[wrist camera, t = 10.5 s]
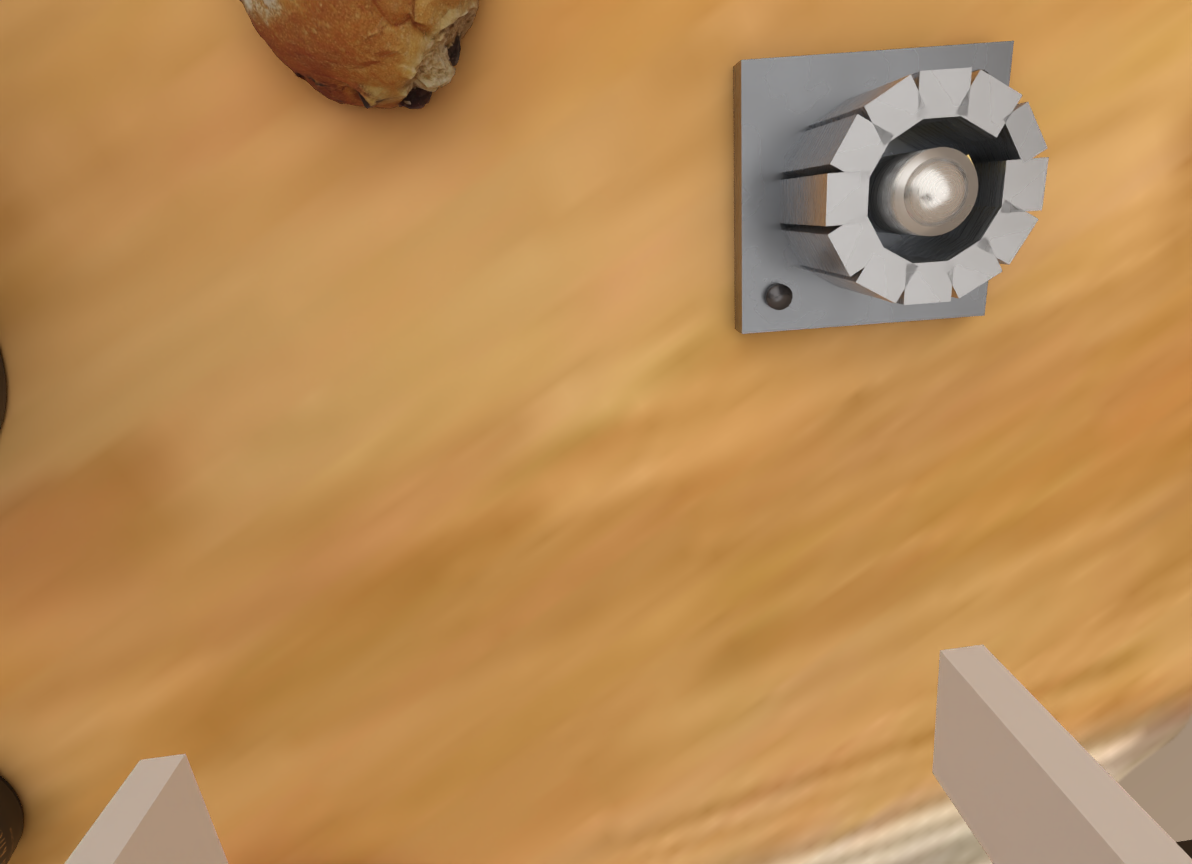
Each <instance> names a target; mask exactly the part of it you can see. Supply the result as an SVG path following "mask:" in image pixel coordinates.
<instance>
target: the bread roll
mask: <svg viewBox="0 0 1192 864" xmlns="http://www.w3.org/2000/svg"><path fill="white" fill-rule="evenodd" d="M240 1H241V2H242V3H243V4H244V7H245V9H246V12H247V13H248V15H249V17H250V19H251V21H252V24H253V26H254V27H255V29H256V30H257V32H258V33H259V35H260V36H261V37H262V38H263V39H264V40H265V41H266V43H267V44H268V45H269V47H270V48H271V49H272V51H273V52H274V53H275V54H276V56H277V57H278V58H279V59H280V60H281V61H282V62H283V63H284V64H285V65H287V66H288V67H289V68H290V69H292V70H293V72H294V73H295V74H296V76H298V77H300V78H302V79H304V80H306V81H307V82H308V83H309V84H310V85H311V86H312V87H313V88H314V89H315V90H317V91H319V92H320V93H322V94H323V95H324V96H326V97H327V98H329V99H331V100H334V101H336V102H338V103H340V104H351V105H357V106H365V107H366V108H371V107H378V108H394V107H396V106H398V105H399V107H402V106H405V107H407V108H409V109H419V108H422V107H424V106H425V104H426V103H428V102H429V100H430V98H431V94H432V92H435V91H436V90H437V89H438V88H439V87H443V86H445V85H446V84H448V83H449V82H451V79H452V77H453V76H454V74H455V70H456V69H455V68H454V67H453V66H454V65H456V64H457V63H458V60H459V56H460V50H461V49H460V40H461V39H462V38H463V36H464V35H465V34H466V31H467V30H468V29H469V28H471V25H472V23H473V20H474V17H475V16H476V12H477V9H478V5H479V0H240ZM424 31H425V32H424Z"/></svg>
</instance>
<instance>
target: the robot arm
mask: <svg viewBox="0 0 1192 864" xmlns="http://www.w3.org/2000/svg"><path fill="white" fill-rule="evenodd" d="M5 405H6V379H5V372H4V366H3V362H2V357H1V354H0V429H1V425H2V422H3V418H4V413H5ZM932 773H933V774H934V776H935V777H936V779H937V780H938V782H939V783H940V785H941V786H942V788H943V789H944V791H945V792H946V794H947V795H948V797H949V798H950V800H951V801H952V803H953V804H954V806H955V807H956V809H957V810H958V812H959V813H960V815H961V816H962V818H963V819H964V821H965V822H966V824H967V825H968V827H969V828H970V830H971V831H972V833H973V834H974V836H975V837H976V839H977V840H978V842H979V843H980V845H981V846H982V848H983V849H984V851H985V852H986V854H987V855H988V857H989V858H990V860H991V861H992V863H993V864H1192V840H1187V841H1181V842H1175V841H1174V840H1173V839H1172V838H1171V837H1170V836H1169V835H1168V834H1167V833H1166V832H1165V831H1164V830H1163V829H1162V828H1161V827H1160V826H1159V825H1158V824H1157V823H1156V822H1155V821H1154V820H1153V819H1152V818H1151V817H1150V816H1149V814H1148V813H1147V812H1146V811H1145V810H1144V809H1143V808H1142V807H1141V806H1140V805H1139V804H1138V803H1137V802H1136V801H1135V800H1134V799H1133V798H1132V797H1131V796H1130V795H1129V794H1128V793H1127V792H1126V791H1125V790H1124V789H1123V788H1122V787H1121V786H1120V785H1119V784H1118V783H1117V782H1116V781H1115V780H1114V779H1113V778H1112V777H1111V776H1110V774H1109V773H1108V772H1107V771H1106V770H1105V769H1104V768H1103V767H1102V766H1101V765H1100V764H1099V763H1098V762H1097V761H1096V760H1095V759H1094V758H1093V757H1092V756H1091V755H1090V754H1089V753H1088V752H1087V751H1086V750H1085V749H1084V748H1083V747H1082V746H1081V745H1080V744H1079V743H1078V742H1077V741H1076V740H1075V739H1074V738H1073V737H1072V735H1071V734H1070V733H1069V732H1068V731H1067V730H1066V729H1065V728H1064V727H1063V726H1062V725H1061V724H1060V723H1059V722H1058V721H1057V720H1056V719H1055V718H1054V717H1053V716H1052V715H1051V714H1050V713H1049V712H1048V711H1047V710H1046V709H1045V708H1044V707H1043V706H1042V705H1041V704H1040V703H1039V702H1038V701H1037V700H1036V699H1035V698H1034V697H1033V695H1032V694H1031V693H1030V692H1029V691H1028V690H1027V689H1026V688H1025V687H1024V686H1023V685H1022V684H1021V683H1020V682H1019V681H1018V680H1017V679H1016V678H1015V677H1014V676H1013V675H1012V674H1011V673H1010V672H1009V671H1008V670H1007V669H1006V668H1005V667H1004V666H1003V665H1002V664H1001V663H1000V662H999V661H998V660H997V659H996V658H995V656H994V655H993V654H992V653H991V652H990V651H989V650H988V649H987V648H986V647H985V646H984V645H976V646H969V647H962V648H955V649H947V650H940V660H939V676H938V692H937V708H936V724H935V740H934V756H933V772H932ZM64 864H228V861H227V859H226V856H225V854H224V851H223V848H222V846H221V843H220V841H219V838H218V836H217V833H216V831H215V828H214V825H213V823H212V820H211V818H210V815H209V813H208V810H207V808H206V805H205V802H204V800H203V797H202V795H201V792H200V790H199V787H198V785H197V782H196V779H195V777H194V774H193V772H192V769H191V767H190V764H189V762H188V759H187V756H186V754H180V755H173V756H166V757H158V758H151V759H144V760H140V761H139V762H138V764H137V765H136V766H135V768H134V769H133V770H132V772H131V773H130V775H129V776H128V777H127V779H126V780H125V781H124V783H123V784H122V786H121V787H120V788H119V790H118V791H117V792H116V794H115V795H114V796H113V798H112V799H111V801H110V802H109V803H108V805H107V806H106V807H105V809H104V810H103V811H102V813H101V814H100V816H99V817H98V818H97V820H96V821H95V822H94V824H93V825H92V826H91V828H90V829H89V831H88V832H87V833H86V835H85V836H84V837H83V839H82V840H81V842H80V843H79V844H78V846H77V847H76V848H75V850H74V851H73V852H72V854H71V855H70V857H69V858H68V859H67V861H66V862H65V863H64Z"/></svg>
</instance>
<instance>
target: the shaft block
mask: <svg viewBox="0 0 1192 864" xmlns="http://www.w3.org/2000/svg"><path fill="white" fill-rule="evenodd" d="M1013 44H1014V41H1005V42H991V43H977V44H962V45H948V46H934V47H920V48H905V49H891V50H877V51H863V52H849V53H834V54H820V55H806V56H792V57H778V58H763V59H749V60H741V61H740V62H738V63H737V64H736V65H735V66H734V67H733V84H734V245H735V329H736V330H737V331H739V332H740V333H742V334H746V333H759V332H772V331H785V330H799V329H812V328H825V327H838V326H851V325H864V324H877V323H890V322H904V321H917V320H930V319H943V318H956V317H969V316H982V315H984V314H985V305H986V296H987V286H988V281H986V282H985V283H983V284H982V285H980V286H978V287H977V288H975V289H974V290H972V291H970V292H969V293H967V294H966V295H964V296H962V297H961V298H959V299H958V298H954V297H951V301H950V302H937V303H924V304H911V305H902V304H898V303H892V302H889V301H885V300H882V299H878V298H875V297H871V296H868V295H864V294H861V293H857V292H854V291H851V290H847V289H844V288H840V287H838V286H836V285H834V284H832V283H830V282H828V281H826V280H824V279H823V278H821V277H819V276H817V275H815V274H813V273H811V272H809V271H807V270H806V268H807V266H803V265H801V264H800V262H799V261H798V259H797V257H796V255H795V253H794V252H793V250H792V248H791V246H790V245H789V243H788V241H787V239H786V237H785V236H784V234H783V232H782V230H783V229H784V228H786V227H787V226H789V225H790V224H783V223H780V180H784V179H792V177H790V176H788V175H786V174H785V173H783V170H784V168H785V166H786V165H787V163H788V161H789V159H790V157H791V155H792V153H793V151H794V150H795V148H796V146H797V144H798V142H799V140H800V138H801V136H802V134H803V133H804V132H805V131H808V130H811V128H810V125H811V124H812V123H814V122H815V121H817V120H818V119H820V118H821V117H823V116H824V115H825V114H827V113H828V112H830V111H831V110H833V109H834V108H835V107H837V106H838V105H840V104H841V103H843V102H844V101H846V100H847V99H850V98H852V97H855V96H857V95H860V94H862V93H865V92H867V91H870V90H873V89H875V88H878V87H880V86H883V85H885V84H888V83H890V82H893V81H895V80H898V79H900V78H903V77H905V76H908V75H910V74H914V73H916V72H919V71H927V70H941V69H955V68H969V67H972V72H974V71H977V70H980V69H981V70H983V71H984V72H986V73H988V74H989V75H991V76H992V77H994V78H996V79H997V80H999V81H1000V82H1002V83H1004V84H1005V85H1007V86H1009V81H1010V72H1011V62H1012V53H1013ZM977 193H978V177H977V172H976V170H975V167H974V165H973V163H972V160H971V158H970V156H969V154H967V155H965V154H963V153H962V152H960V151H958V150H956V149H953V148H948V147H937V148H931V149H925V150H919V151H918V150H916V149H914V148H913V147H911V146H909V145H908V144H906V143H904V142H902V141H901V140H899V139H897V138H894V139H893V140H891V141H890V142H889V144H888V146H887V147H886V149H885V151H884V153H883V154H882V156H881V158H880V160H879V161H878V163H877V165H876V167H875V169H874V170H873V172H872V174H871V176H870V177H869V195H868V214H867V216H868V218H869V220H870V222H871V224H872V226H873V228H874V230H875V232H876V234H877V236H878V238H879V240H880V242H881V244H882V245H883V247H884V248H885V249H887V248H888V247H890V246H891V245H893V244H894V243H896V242H898V241H899V240H901V239H902V238H904V237H905V236H907V235H919V236H937V235H941V234H944V233H947V232H949V231H951V230H953V229H954V228H956V227H957V226H958V225H960V224H961V223H962V222H963V221H964V220H965V218H966V217H967V216H968V215H969V213H970V212H971V210H972V208H973V206H974V203H975V201H976V198H977Z"/></svg>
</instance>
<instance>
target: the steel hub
mask: <svg viewBox="0 0 1192 864" xmlns="http://www.w3.org/2000/svg"><path fill="white" fill-rule="evenodd" d="M1021 97H1022V94H1020V93H1018V92H1017V91H1015V90H1013V89H1012V88H1010V87H1009V86H1007V85H1005V84H1004V83H1002V82H1000V81H999V80H997V79H996V78H994V77H992V76H991V75H989V74H988V73H986V72H984V71H983V70H981V69H980V70H977V71H974V72H972V67H969V68H955V69H941V70H927V71H919V72H916V73H914V74H910V75H908V76H905V77H903V78H900V79H898V80H895V81H893V82H890V83H888V84H885V85H883V86H880V87H878V88H875V89H873V90H870V91H867V92H865V93H862V94H860V95H857V96H855V97H852V98H850V99H847V100H846V101H844V102H843V103H841V104H840V105H838V106H837V107H835V108H834V109H833V110H831V111H830V112H828V113H827V114H825V115H824V116H823V117H821V118H820V119H818V120H817V121H815V122H814V123H812V124H811V125H810V128H811V130H808V131H805V132H804V133H803V134H802V136H801V138H800V140H799V142H798V144H797V146H796V148H795V150H794V151H793V153H792V155H791V157H790V159H789V161H788V163H787V165H786V166H785V168H784V170H783V173H785V174H786V175H788V176H790V177H792V179H784V180H780V223H783V224H790V225H789V226H787V227H786V228H784V229H783V230H782V232H783V234H784V236H785V237H786V239H787V241H788V243H789V245H790V246H791V248H792V250H793V252H794V253H795V255H796V257H797V259H798V261H799V262H800V264H801V265H803V266H807V268H806V270H807V271H809V272H811V273H813V274H815V275H817V276H819V277H821V278H823V279H824V280H826V281H828V282H830V283H832V284H834V285H836V286H838V287H840V288H844V289H847V290H851V291H854V292H857V293H861V294H864V295H868V296H871V297H875V298H878V299H882V300H885V301H889V302H892V303H898V304H902V305H911V304H924V303H937V302H950V301H951V297H954V298H958V299H959V298H961V297H962V296H964V295H966V294H967V293H969V292H970V291H972V290H974V289H975V288H977V287H978V286H980V285H982V284H983V283H985V282H986V281H988V280H989V279H991V278H993V277H994V276H996V275H997V274H999V273H1001V272H1002V269H1001V267H1000V265H999V263H1000V264H1008V265H1009V264H1010V263H1011V261H1012V260H1013V258H1014V256H1015V255H1016V253H1017V252H1018V250H1019V249H1020V247H1021V246H1022V244H1023V243H1024V241H1025V239H1026V238H1027V236H1028V235H1029V233H1030V232H1031V230H1032V229H1033V227H1034V226H1035V224H1036V222H1037V221H1038V219H1037V218H1036V217H1034V216H1032V215H1030V214H1029V213H1027V212H1025V211H1038V210H1042V206H1043V198H1044V190H1045V182H1046V174H1047V166H1048V158H1049V157H1046V158H1033V157H1035V156H1036V155H1038V154H1039V153H1041V152H1042V151H1044V150H1045V149H1047V146H1046V143H1045V141H1044V139H1043V136H1042V134H1041V131H1040V129H1039V127H1038V124H1037V122H1036V119H1035V117H1034V115H1033V112H1032V110H1031V108H1030V105H1029V103H1028V102H1025V103H1021V104H1017V103H1018V102H1019V100H1020V98H1021ZM894 138H897V139H899V140H901V141H902V142H904V143H906V144H908V145H909V146H911V147H913V148H914V149H916V150H918V151H919V150H925V149H931V148H937V147H948V148H953V149H956V150H958V151H960V152H962V153H963V154H965V155H967V154H969V156H970V158H971V160H972V163H973V165H974V167H975V170H976V172H977V177H978V193H977V198H976V201H975V203H974V206H973V208H972V210H971V212H970V213H969V215H968V216H967V217H966V218H965V220H964V221H963V222H962V223H961V224H960V225H958V226H957V227H956V228H954V229H953V230H951V231H949V232H947V233H944V234H941V235H937V236H919V235H907V236H905V237H904V238H902V239H901V240H899V241H898V242H896V243H894V244H893V245H891V246H890V247H888V248H887V249H885V248H884V247H883V245H882V244H881V242H880V240H879V238H878V236H877V234H876V232H875V230H874V228H873V226H872V224H871V222H870V220H869V218H868V216H867V214H868V195H869V177H870V176H871V174H872V172H873V170H874V169H875V167H876V165H877V163H878V161H879V160H880V158H881V156H882V154H883V153H884V151H885V149H886V147H887V146H888V144H889V142H890V141H891V140H893V139H894Z"/></svg>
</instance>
